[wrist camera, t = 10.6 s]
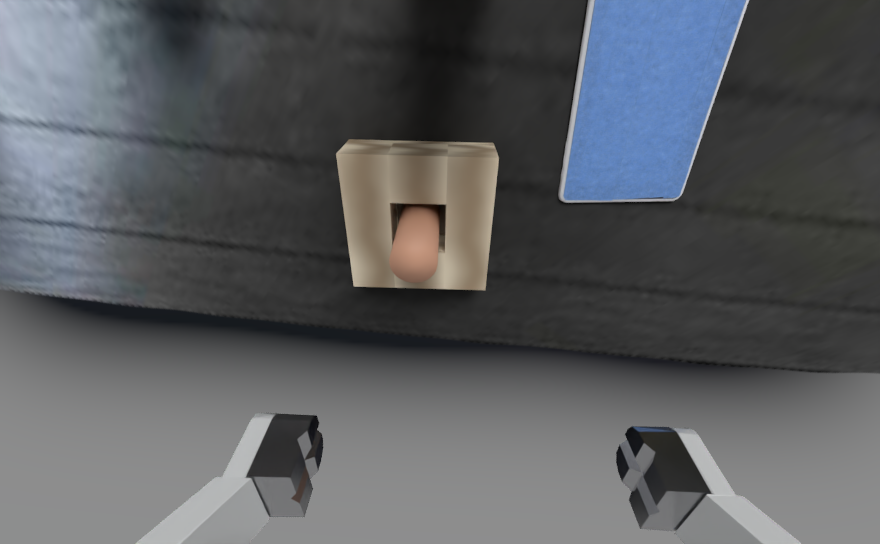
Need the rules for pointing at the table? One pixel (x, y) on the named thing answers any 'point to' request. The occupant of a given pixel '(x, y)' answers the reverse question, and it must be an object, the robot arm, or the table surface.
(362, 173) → the socket block
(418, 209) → the dowel
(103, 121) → the table surface
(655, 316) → the table surface
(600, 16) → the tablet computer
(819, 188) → the table surface
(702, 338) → the table surface
